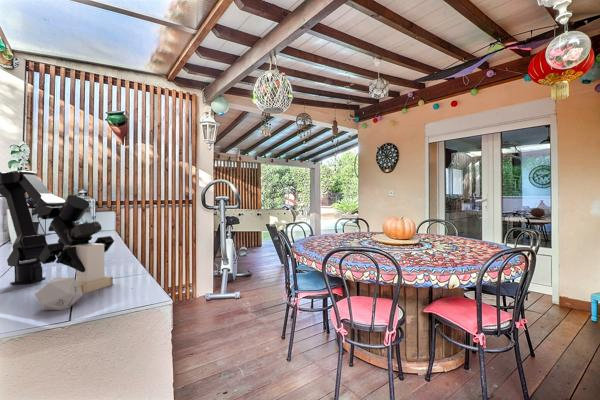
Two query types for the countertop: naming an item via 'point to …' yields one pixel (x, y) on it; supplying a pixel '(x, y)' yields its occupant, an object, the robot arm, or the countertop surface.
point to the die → (59, 294)
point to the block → (90, 262)
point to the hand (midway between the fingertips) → (93, 269)
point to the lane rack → (96, 284)
